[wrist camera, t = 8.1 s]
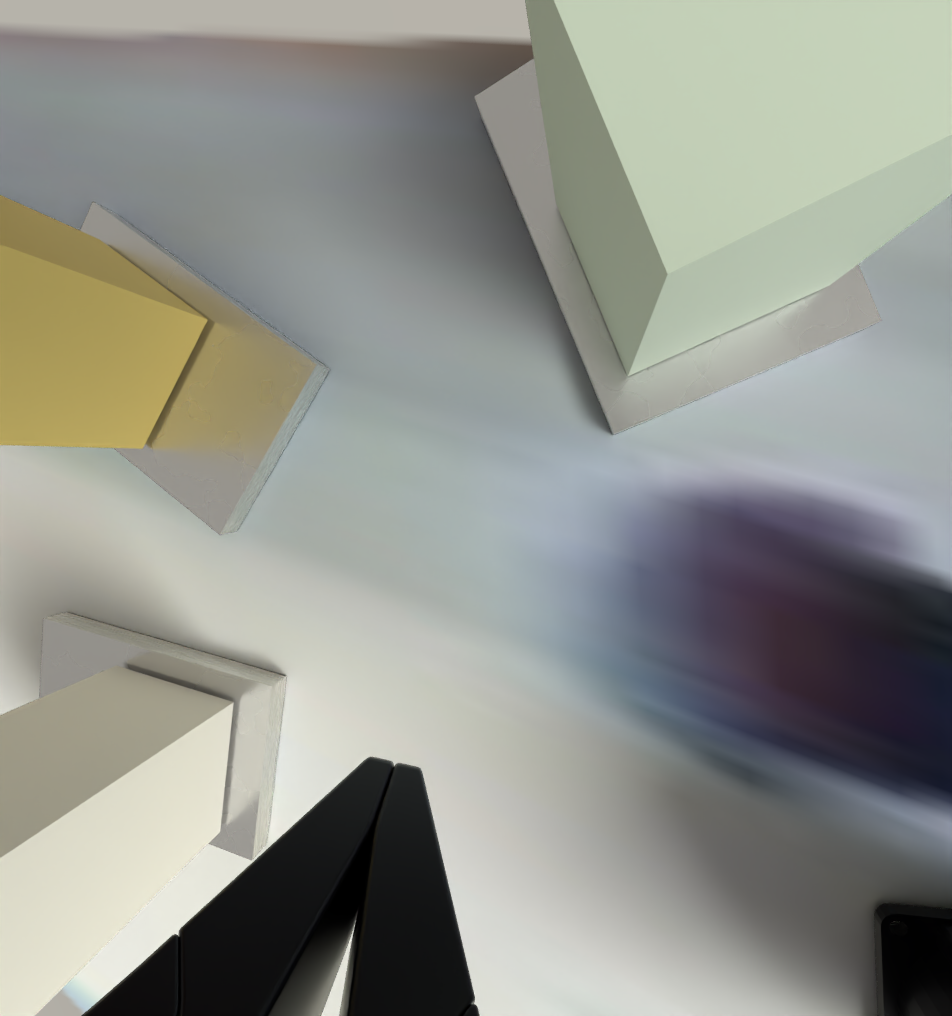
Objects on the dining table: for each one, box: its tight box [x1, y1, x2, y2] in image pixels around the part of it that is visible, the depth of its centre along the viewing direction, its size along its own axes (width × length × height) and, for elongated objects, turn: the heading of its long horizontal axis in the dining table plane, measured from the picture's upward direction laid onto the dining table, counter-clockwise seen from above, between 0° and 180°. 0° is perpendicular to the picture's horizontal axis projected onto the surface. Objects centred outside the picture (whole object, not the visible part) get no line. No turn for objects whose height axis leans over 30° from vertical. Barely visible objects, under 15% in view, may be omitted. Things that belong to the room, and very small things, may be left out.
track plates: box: [39, 58, 882, 860], centre depth 19 cm, size 30×35×1 cm
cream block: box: [0, 666, 234, 1016], centre depth 17 cm, size 6×6×9 cm
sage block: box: [525, 0, 952, 376], centre depth 11 cm, size 6×6×9 cm
